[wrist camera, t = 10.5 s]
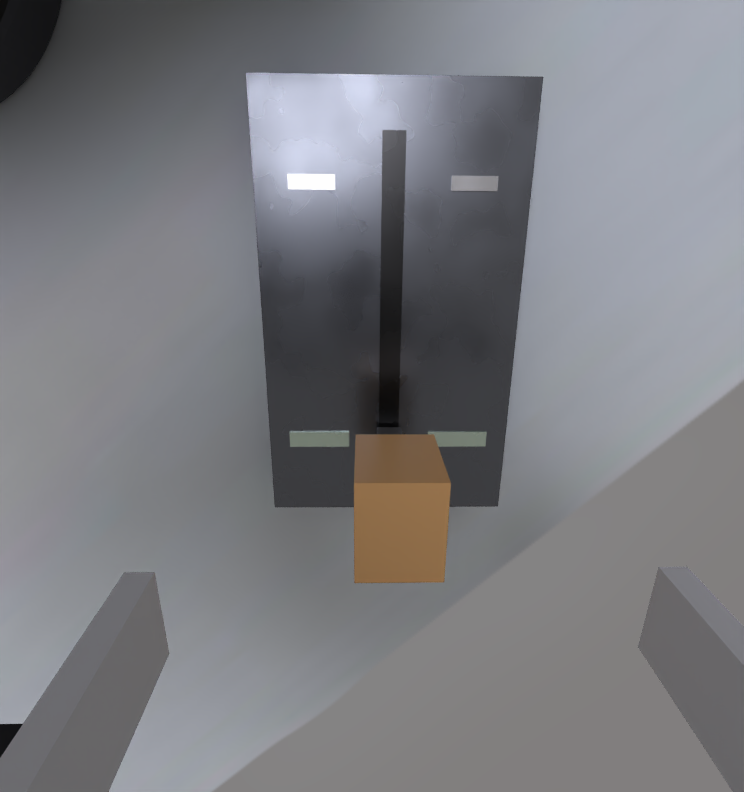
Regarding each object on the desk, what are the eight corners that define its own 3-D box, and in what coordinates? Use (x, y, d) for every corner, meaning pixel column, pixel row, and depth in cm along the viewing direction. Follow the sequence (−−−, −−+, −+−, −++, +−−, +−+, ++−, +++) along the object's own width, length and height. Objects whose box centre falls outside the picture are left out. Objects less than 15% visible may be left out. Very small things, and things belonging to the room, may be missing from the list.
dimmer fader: (356, 400, 24) (354, 483, 16) (422, 400, 24) (451, 482, 16) (356, 473, 25) (354, 582, 17) (418, 473, 25) (444, 582, 17)
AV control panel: (258, 89, 22) (245, 71, 19) (523, 93, 22) (544, 76, 19) (282, 484, 28) (274, 508, 26) (486, 483, 28) (498, 507, 26)
